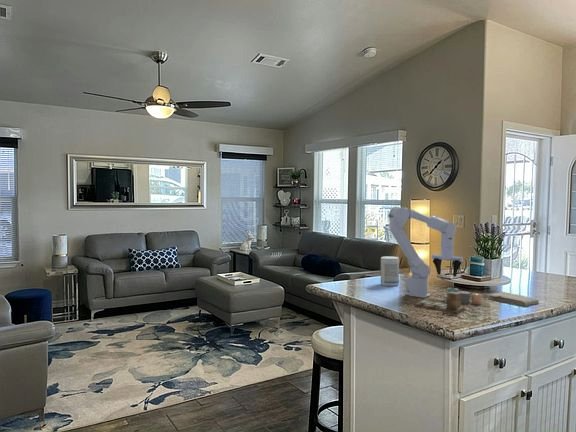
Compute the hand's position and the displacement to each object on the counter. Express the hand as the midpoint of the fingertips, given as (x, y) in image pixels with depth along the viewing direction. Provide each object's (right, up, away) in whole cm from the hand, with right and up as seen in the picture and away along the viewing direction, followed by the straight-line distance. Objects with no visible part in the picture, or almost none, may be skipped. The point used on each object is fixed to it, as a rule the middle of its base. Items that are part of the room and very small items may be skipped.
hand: (446, 275), depth 205 cm
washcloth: (+26, -11, -11) cm, 30 cm away
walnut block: (-7, -9, -28) cm, 30 cm away
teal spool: (-1, -10, -10) cm, 14 cm away
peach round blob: (+7, -10, -16) cm, 20 cm away
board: (-12, -10, -24) cm, 29 cm away
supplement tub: (-22, -9, +24) cm, 34 cm away
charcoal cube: (+2, -10, -14) cm, 17 cm away
